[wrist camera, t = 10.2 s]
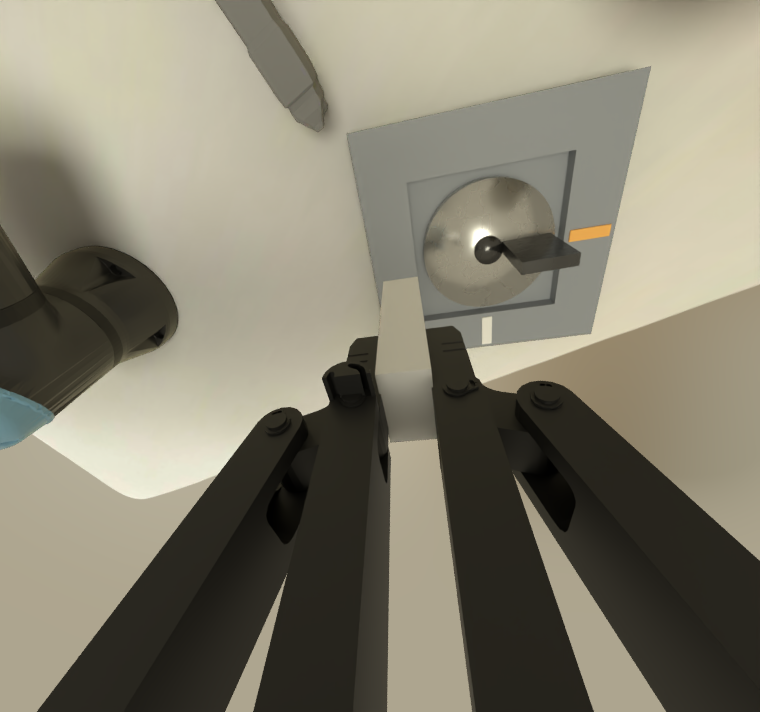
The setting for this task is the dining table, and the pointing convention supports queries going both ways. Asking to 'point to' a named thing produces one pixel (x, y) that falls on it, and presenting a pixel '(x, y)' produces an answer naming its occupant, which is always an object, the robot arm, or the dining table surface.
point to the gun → (278, 58)
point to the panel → (511, 159)
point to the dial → (492, 242)
